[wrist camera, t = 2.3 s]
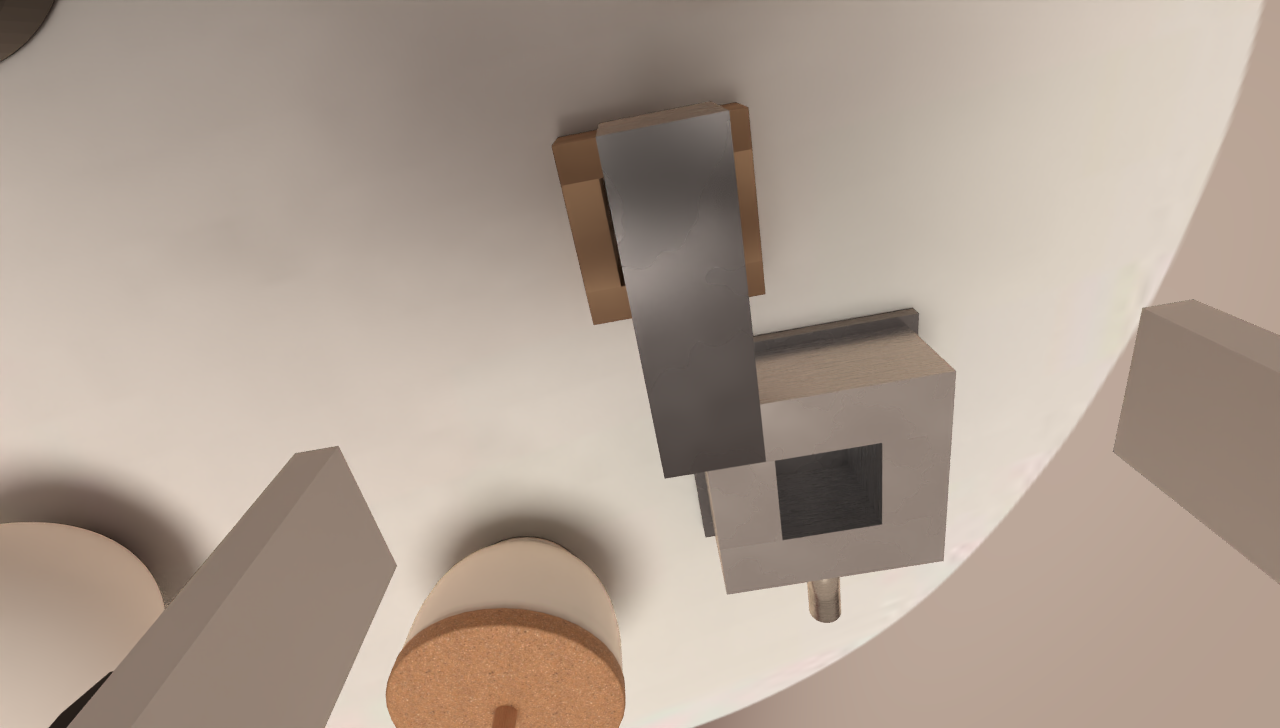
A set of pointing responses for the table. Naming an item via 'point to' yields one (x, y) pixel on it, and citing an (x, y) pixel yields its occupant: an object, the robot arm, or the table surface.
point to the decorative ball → (65, 616)
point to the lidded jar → (512, 645)
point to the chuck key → (686, 282)
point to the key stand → (595, 226)
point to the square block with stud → (838, 460)
